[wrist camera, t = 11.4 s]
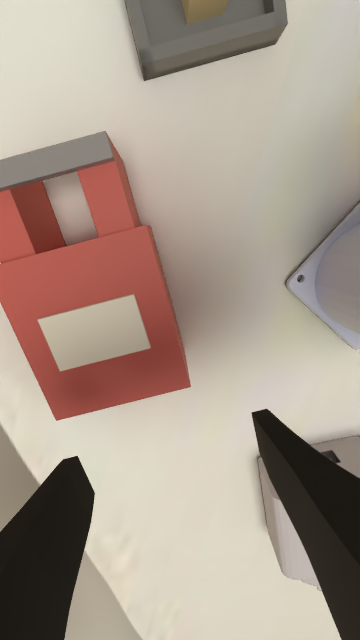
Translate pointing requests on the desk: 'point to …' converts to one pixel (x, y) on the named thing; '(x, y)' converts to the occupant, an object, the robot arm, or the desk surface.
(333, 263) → the robot arm
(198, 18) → the wooden blocks
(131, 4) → the ticket tray
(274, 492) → the charger
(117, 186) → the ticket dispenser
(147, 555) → the desk surface
